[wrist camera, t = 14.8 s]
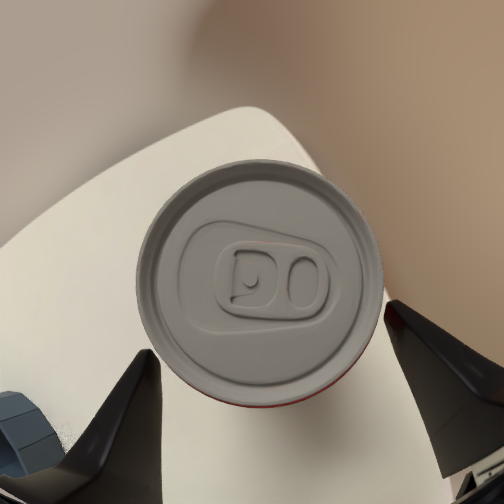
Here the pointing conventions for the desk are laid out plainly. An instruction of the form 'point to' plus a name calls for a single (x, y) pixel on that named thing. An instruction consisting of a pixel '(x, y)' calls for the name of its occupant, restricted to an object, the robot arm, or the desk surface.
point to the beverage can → (260, 283)
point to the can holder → (25, 437)
